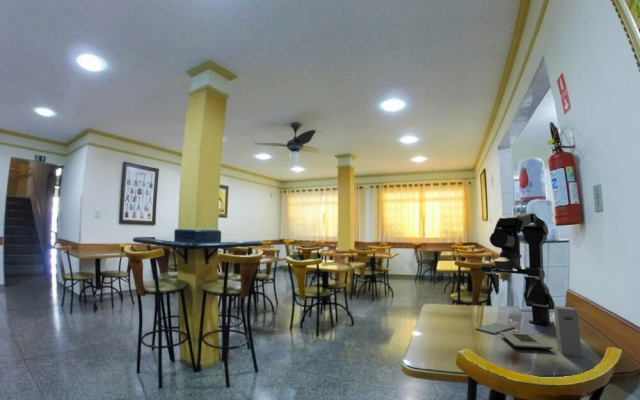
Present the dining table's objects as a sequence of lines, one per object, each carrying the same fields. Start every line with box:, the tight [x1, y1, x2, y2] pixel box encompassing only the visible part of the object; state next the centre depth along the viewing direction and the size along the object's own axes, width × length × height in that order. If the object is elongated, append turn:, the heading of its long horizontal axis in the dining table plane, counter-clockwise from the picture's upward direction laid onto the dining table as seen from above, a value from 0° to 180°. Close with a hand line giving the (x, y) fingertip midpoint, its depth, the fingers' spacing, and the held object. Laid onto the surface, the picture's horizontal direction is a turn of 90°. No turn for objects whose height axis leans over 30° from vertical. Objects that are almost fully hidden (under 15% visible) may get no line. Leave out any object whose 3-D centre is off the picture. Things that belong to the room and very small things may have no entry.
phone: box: [475, 322, 516, 336], centre depth 116 cm, size 14×7×1 cm, turn 121°
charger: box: [553, 305, 583, 357], centre depth 93 cm, size 4×5×13 cm
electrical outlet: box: [498, 331, 554, 350], centre depth 100 cm, size 13×10×2 cm
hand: (511, 295), depth 107 cm, fingers open, 9 cm apart
